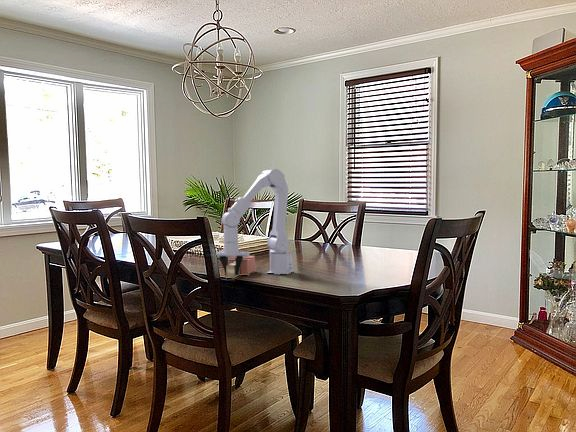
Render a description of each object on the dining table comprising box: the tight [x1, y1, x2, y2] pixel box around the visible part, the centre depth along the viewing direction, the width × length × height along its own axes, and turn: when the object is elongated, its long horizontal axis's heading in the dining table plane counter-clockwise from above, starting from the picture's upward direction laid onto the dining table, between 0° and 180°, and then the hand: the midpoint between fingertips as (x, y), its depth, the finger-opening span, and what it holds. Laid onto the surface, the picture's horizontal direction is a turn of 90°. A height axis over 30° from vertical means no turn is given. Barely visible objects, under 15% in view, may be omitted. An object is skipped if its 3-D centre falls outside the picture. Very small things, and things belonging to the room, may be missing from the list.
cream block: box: [226, 262, 241, 279], centre depth 202 cm, size 12×3×6 cm, turn 166°
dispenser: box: [228, 255, 256, 274], centre depth 207 cm, size 10×10×7 cm
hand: (232, 274), depth 198 cm, fingers closed on cream block, 4 cm apart
